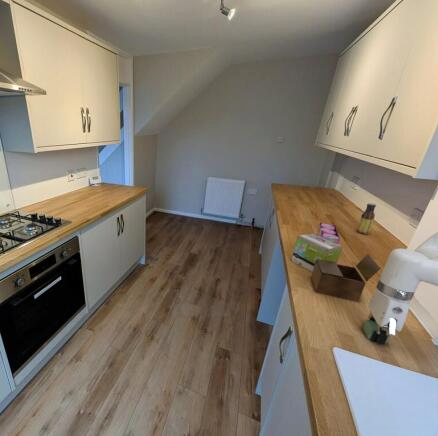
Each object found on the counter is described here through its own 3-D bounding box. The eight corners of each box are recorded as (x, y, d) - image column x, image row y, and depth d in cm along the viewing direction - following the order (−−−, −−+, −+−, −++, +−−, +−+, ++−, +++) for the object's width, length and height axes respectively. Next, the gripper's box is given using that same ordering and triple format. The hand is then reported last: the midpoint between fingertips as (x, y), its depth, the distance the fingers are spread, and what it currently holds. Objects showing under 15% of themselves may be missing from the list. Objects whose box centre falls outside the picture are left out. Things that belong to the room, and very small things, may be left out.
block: (379, 334, 77) (384, 323, 76) (385, 345, 73) (390, 334, 72) (362, 329, 79) (366, 319, 77) (367, 339, 75) (371, 329, 74)
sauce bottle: (364, 231, 158) (374, 202, 152) (371, 235, 153) (382, 205, 146) (353, 230, 159) (363, 202, 152) (360, 234, 153) (370, 205, 146)
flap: (355, 266, 98) (356, 266, 98) (366, 281, 88) (366, 281, 88) (367, 253, 95) (368, 254, 95) (380, 267, 85) (381, 268, 85)
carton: (348, 286, 101) (355, 265, 98) (357, 303, 91) (366, 281, 88) (310, 278, 107) (316, 258, 103) (315, 293, 97) (322, 272, 93)
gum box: (313, 242, 141) (319, 221, 137) (329, 246, 137) (336, 224, 133) (314, 259, 122) (321, 235, 118) (333, 264, 118) (341, 239, 114)
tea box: (290, 261, 120) (296, 235, 115) (304, 258, 124) (311, 232, 119) (319, 277, 107) (328, 248, 102) (334, 273, 110) (343, 245, 105)
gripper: (429, 312, 61) (402, 363, 67) (397, 277, 75) (377, 322, 82) (391, 303, 64) (368, 353, 70) (367, 272, 78) (350, 315, 85)
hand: (373, 336), depth 76 cm, fingers closed on block, 4 cm apart
